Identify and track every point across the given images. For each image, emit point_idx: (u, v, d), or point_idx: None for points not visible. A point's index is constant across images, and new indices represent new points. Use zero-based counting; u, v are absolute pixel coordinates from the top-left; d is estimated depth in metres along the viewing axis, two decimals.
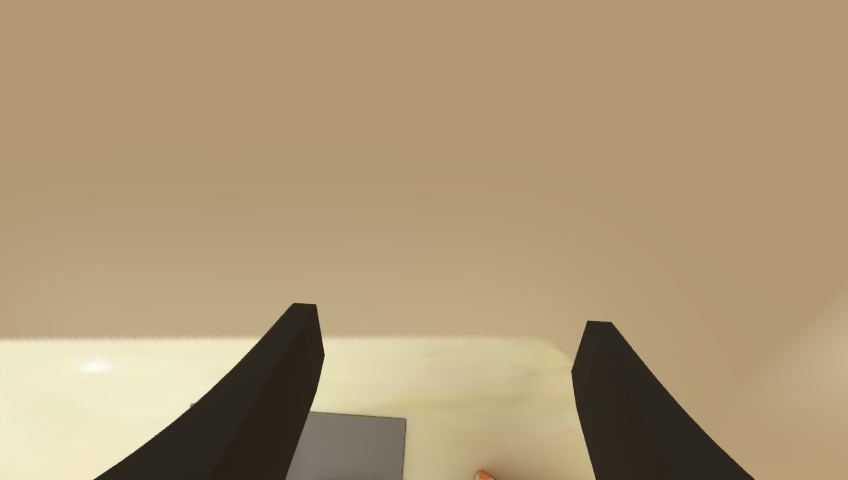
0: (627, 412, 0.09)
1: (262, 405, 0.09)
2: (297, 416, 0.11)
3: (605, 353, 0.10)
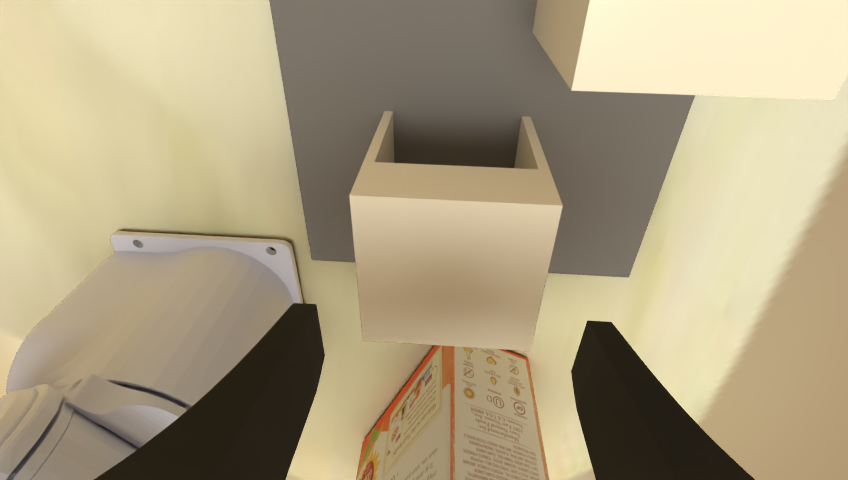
0: (627, 412, 0.09)
1: (262, 406, 0.09)
2: (296, 417, 0.11)
3: (605, 353, 0.10)
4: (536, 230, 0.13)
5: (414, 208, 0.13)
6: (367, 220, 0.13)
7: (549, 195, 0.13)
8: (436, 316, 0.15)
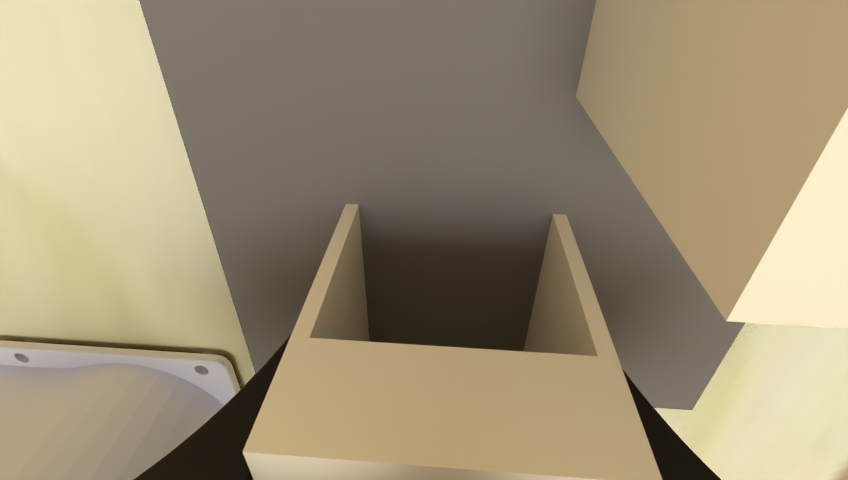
0: None
1: None
2: None
3: None
4: None
5: (370, 472, 0.06)
6: None
7: (631, 445, 0.07)
8: None
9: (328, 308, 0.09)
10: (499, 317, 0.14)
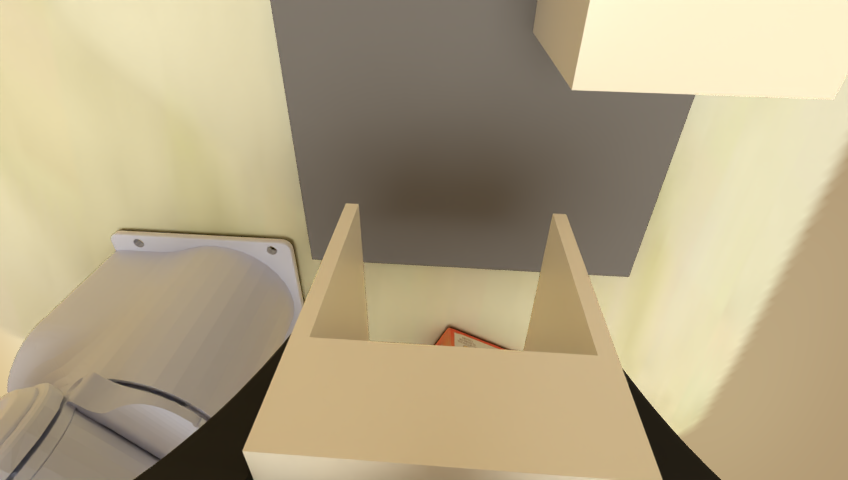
0: None
1: None
2: None
3: None
4: None
5: (370, 472, 0.06)
6: None
7: (631, 444, 0.07)
8: None
9: (328, 307, 0.09)
10: (488, 198, 0.20)
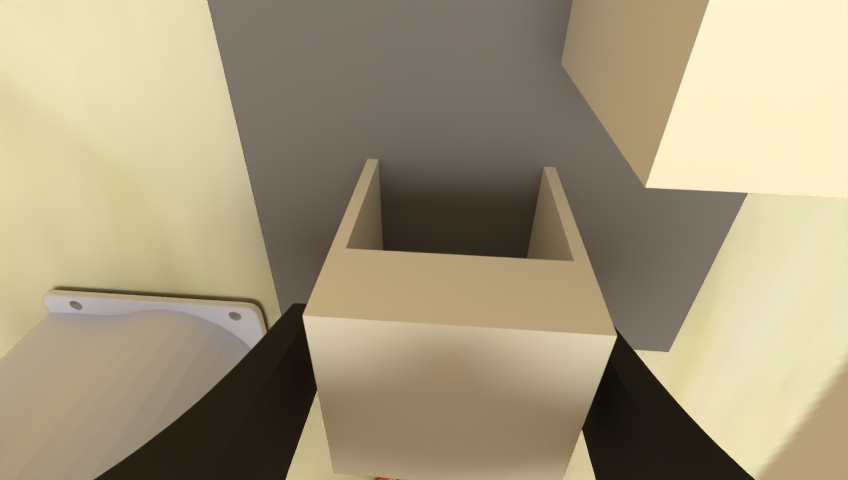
0: (627, 412, 0.09)
1: (262, 406, 0.09)
2: (296, 416, 0.11)
3: None
4: (575, 364, 0.09)
5: (397, 332, 0.09)
6: (331, 345, 0.09)
7: (595, 314, 0.09)
8: (431, 452, 0.11)
9: (357, 234, 0.12)
10: None
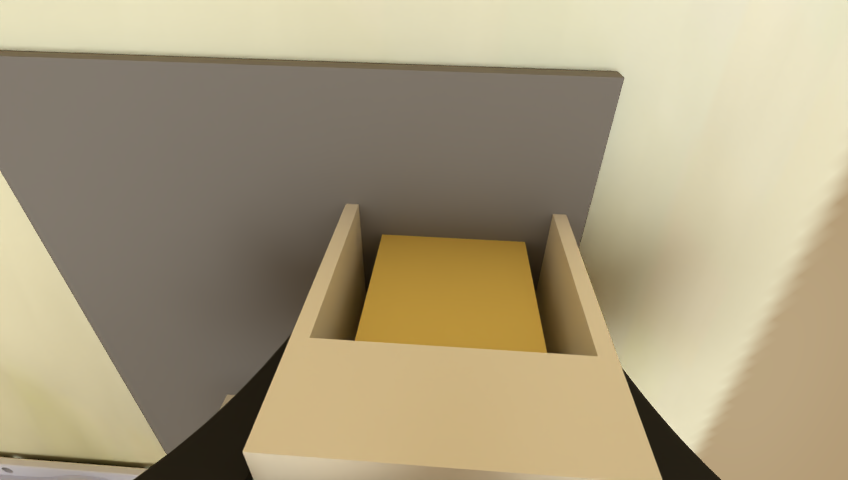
0: None
1: None
2: None
3: None
4: None
5: None
6: None
7: None
8: None
9: None
10: None
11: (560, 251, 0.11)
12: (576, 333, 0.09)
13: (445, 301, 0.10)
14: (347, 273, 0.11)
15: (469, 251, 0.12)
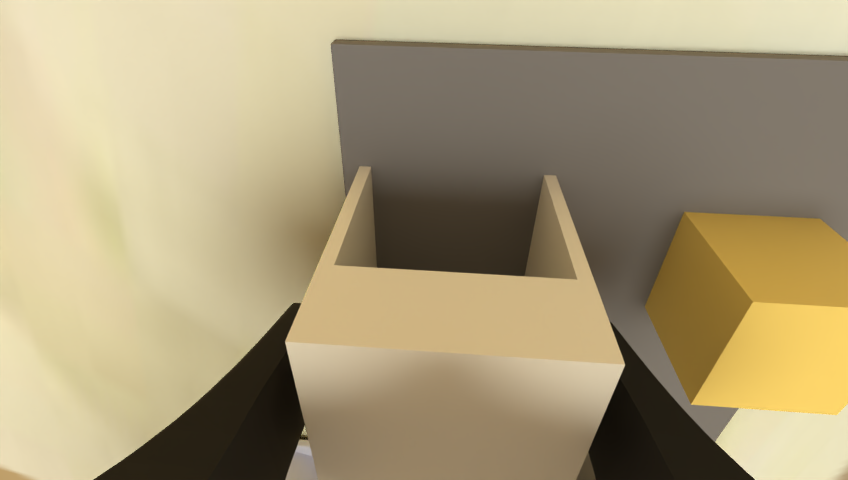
0: (627, 412, 0.09)
1: (262, 405, 0.09)
2: (296, 417, 0.11)
3: None
4: None
5: None
6: None
7: None
8: None
9: None
10: None
11: (549, 205, 0.12)
12: (561, 269, 0.11)
13: (798, 268, 0.11)
14: (361, 224, 0.13)
15: (778, 227, 0.13)
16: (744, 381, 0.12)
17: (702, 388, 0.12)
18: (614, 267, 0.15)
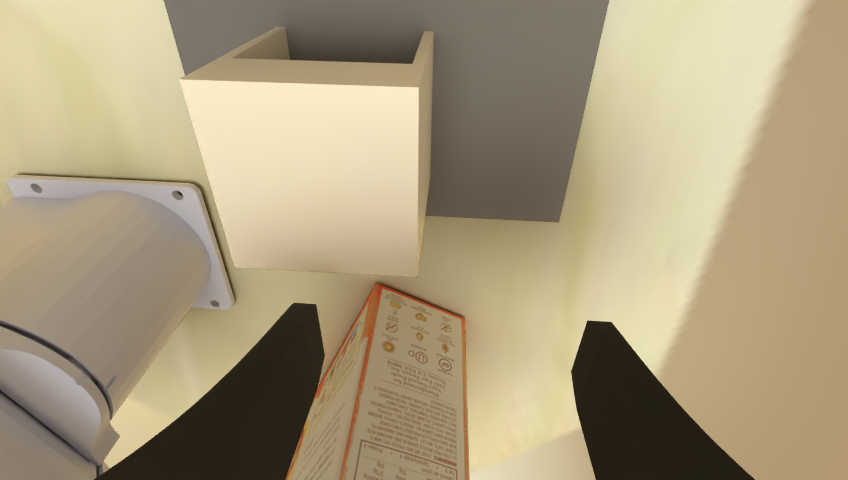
0: (627, 412, 0.09)
1: (262, 406, 0.09)
2: (296, 416, 0.11)
3: (605, 353, 0.10)
4: (395, 121, 0.11)
5: (254, 94, 0.11)
6: (206, 112, 0.11)
7: (409, 80, 0.11)
8: (307, 235, 0.13)
9: None
10: None
11: None
12: None
13: None
14: None
15: None
16: None
17: None
18: None
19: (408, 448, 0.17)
